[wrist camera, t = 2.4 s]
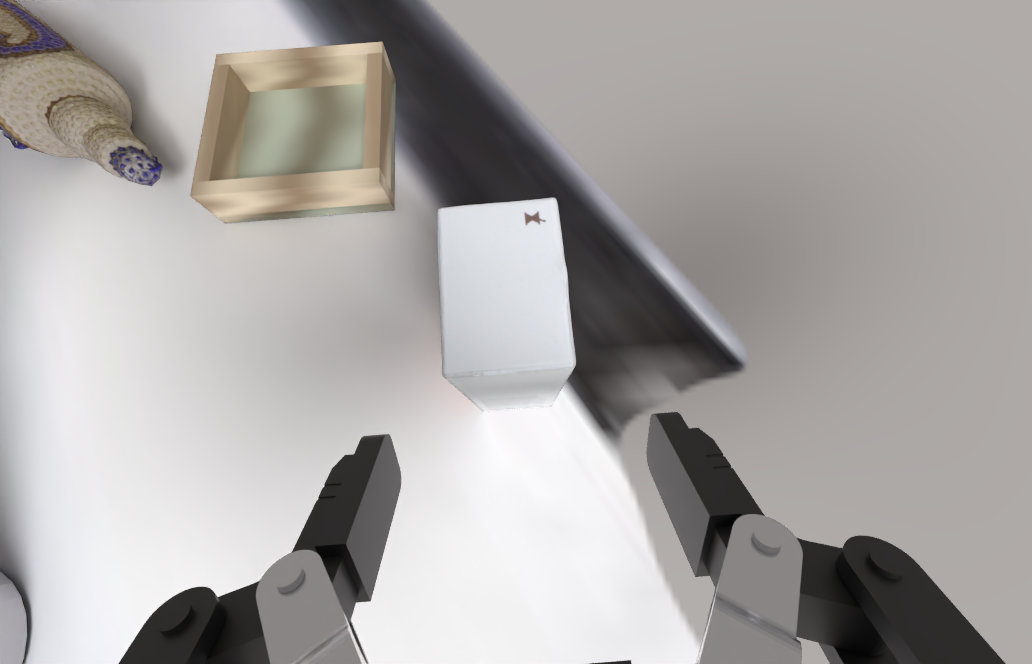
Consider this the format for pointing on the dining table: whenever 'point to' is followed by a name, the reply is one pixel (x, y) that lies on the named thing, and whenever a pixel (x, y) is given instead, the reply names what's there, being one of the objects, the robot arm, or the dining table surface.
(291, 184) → the pocket tray
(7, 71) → the decorative bottle
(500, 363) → the skincare box
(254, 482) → the dining table surface
